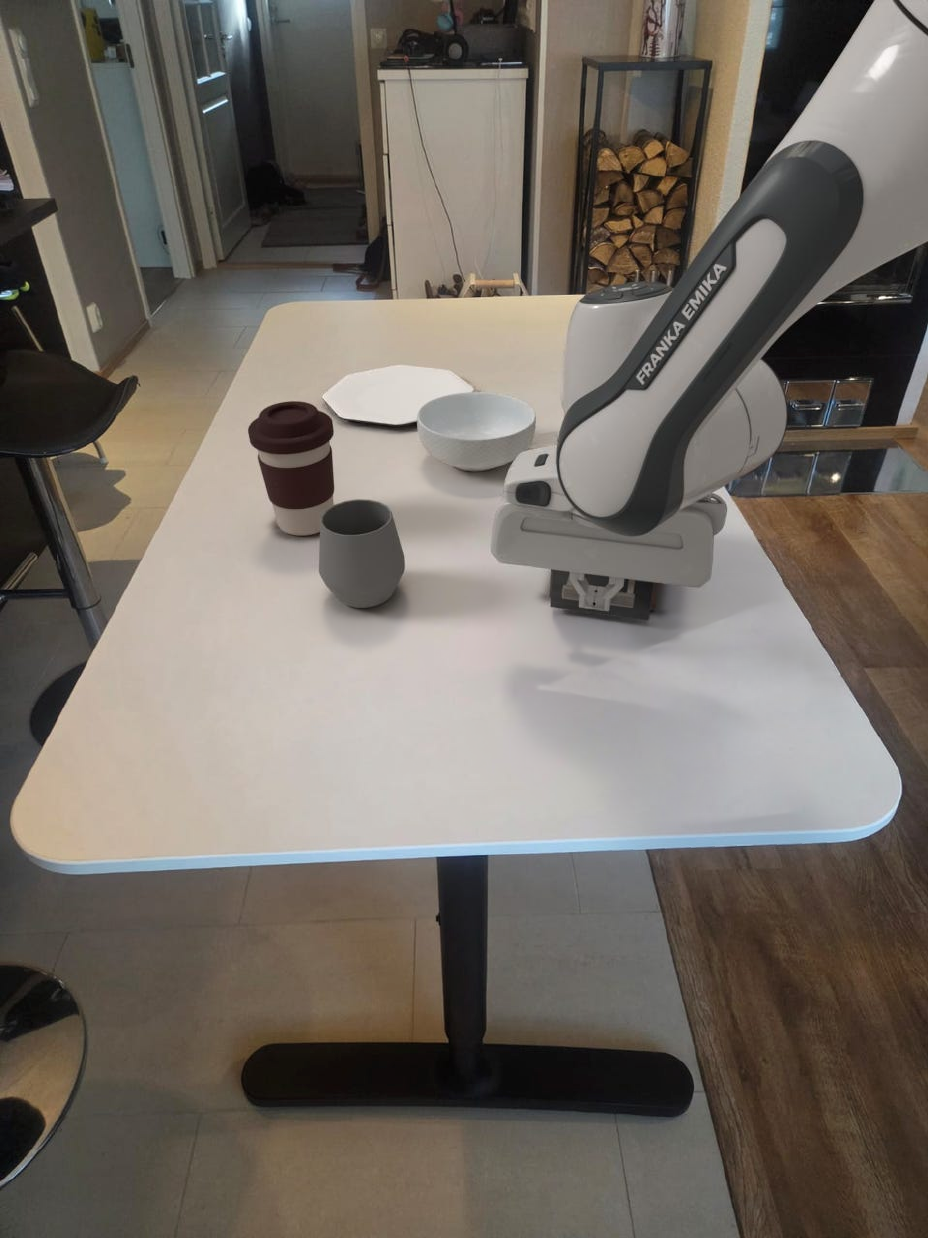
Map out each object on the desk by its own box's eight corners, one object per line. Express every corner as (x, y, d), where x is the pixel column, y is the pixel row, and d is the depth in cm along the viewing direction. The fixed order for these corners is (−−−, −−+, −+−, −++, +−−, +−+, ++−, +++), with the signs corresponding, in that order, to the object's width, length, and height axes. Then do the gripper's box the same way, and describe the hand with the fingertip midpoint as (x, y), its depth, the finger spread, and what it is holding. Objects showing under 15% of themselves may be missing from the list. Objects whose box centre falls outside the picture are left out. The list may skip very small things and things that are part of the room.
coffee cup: (270, 506, 106) (249, 398, 97) (345, 500, 107) (331, 392, 98) (264, 546, 98) (241, 432, 89) (345, 539, 99) (330, 426, 90)
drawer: (645, 646, 80) (654, 582, 76) (543, 631, 83) (546, 568, 78) (657, 556, 93) (666, 497, 88) (568, 545, 95) (572, 487, 90)
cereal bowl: (547, 480, 110) (549, 432, 106) (428, 493, 108) (425, 444, 104) (519, 429, 123) (520, 384, 119) (412, 439, 121) (409, 395, 117)
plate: (494, 411, 129) (494, 402, 128) (356, 442, 121) (355, 433, 120) (434, 365, 146) (433, 357, 145) (309, 390, 138) (308, 381, 137)
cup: (408, 616, 87) (402, 537, 80) (321, 622, 86) (308, 543, 80) (405, 567, 94) (399, 492, 88) (326, 572, 94) (314, 497, 87)
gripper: (731, 473, 70) (705, 601, 78) (501, 451, 74) (501, 574, 82) (731, 509, 65) (703, 641, 73) (485, 483, 69) (486, 610, 78)
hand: (594, 605), depth 78 cm, fingers closed, pressing on drawer
